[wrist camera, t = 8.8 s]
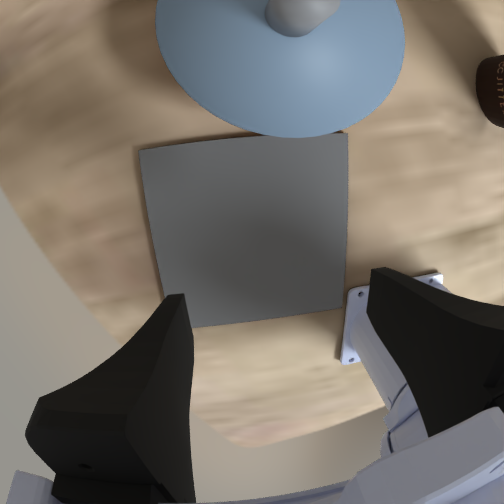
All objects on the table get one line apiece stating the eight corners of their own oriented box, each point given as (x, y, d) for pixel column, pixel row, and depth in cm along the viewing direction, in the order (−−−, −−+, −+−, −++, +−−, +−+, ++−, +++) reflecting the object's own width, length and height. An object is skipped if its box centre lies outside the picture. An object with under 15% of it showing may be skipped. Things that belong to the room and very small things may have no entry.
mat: (344, 133, 19) (347, 133, 19) (339, 304, 24) (341, 307, 24) (140, 150, 18) (138, 150, 17) (173, 325, 23) (172, 329, 23)
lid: (382, -53, 10) (414, -76, 7) (404, 138, 16) (445, 147, 12) (158, -65, 9) (147, -100, 6) (165, 148, 15) (151, 156, 11)
